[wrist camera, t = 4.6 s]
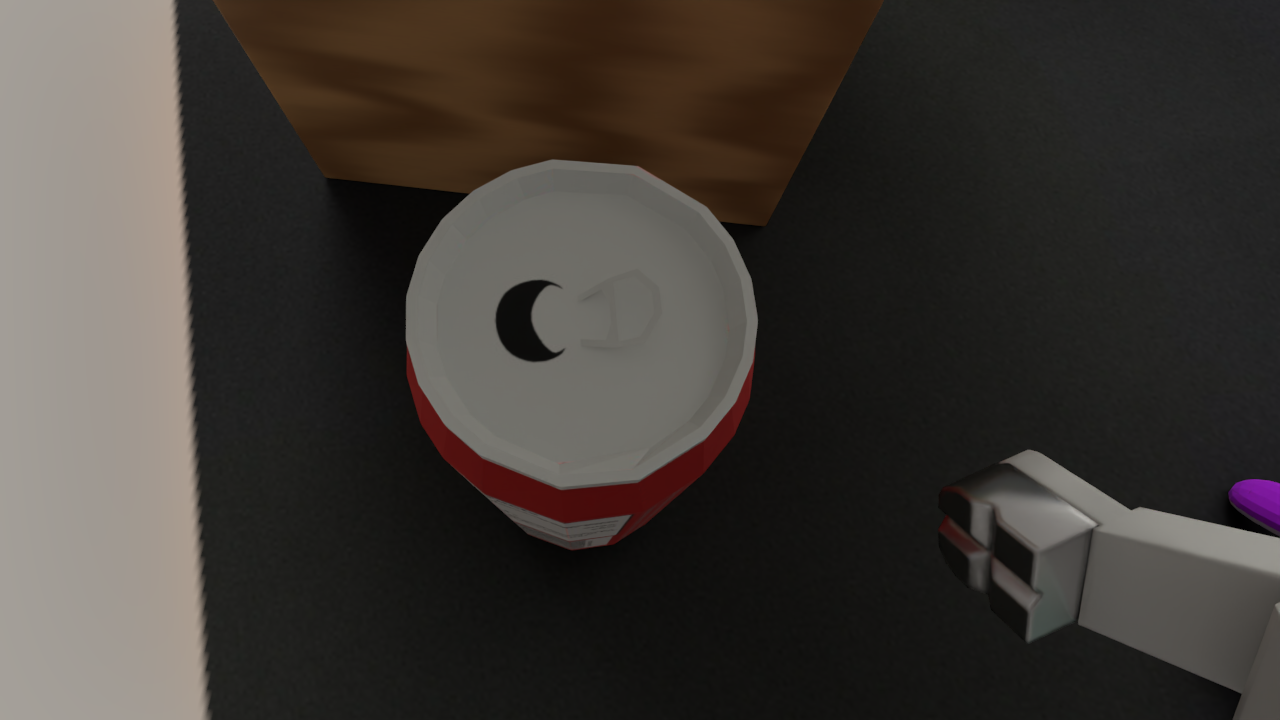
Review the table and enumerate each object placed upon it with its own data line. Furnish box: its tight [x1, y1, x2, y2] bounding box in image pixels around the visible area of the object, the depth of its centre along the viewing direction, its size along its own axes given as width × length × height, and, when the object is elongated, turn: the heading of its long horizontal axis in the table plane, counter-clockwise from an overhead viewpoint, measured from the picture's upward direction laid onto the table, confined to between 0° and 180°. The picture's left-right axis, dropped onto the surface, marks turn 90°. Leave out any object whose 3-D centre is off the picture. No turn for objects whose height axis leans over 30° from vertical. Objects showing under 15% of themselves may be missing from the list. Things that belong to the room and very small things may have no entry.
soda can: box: [406, 159, 758, 551], centre depth 15 cm, size 6×6×12 cm
